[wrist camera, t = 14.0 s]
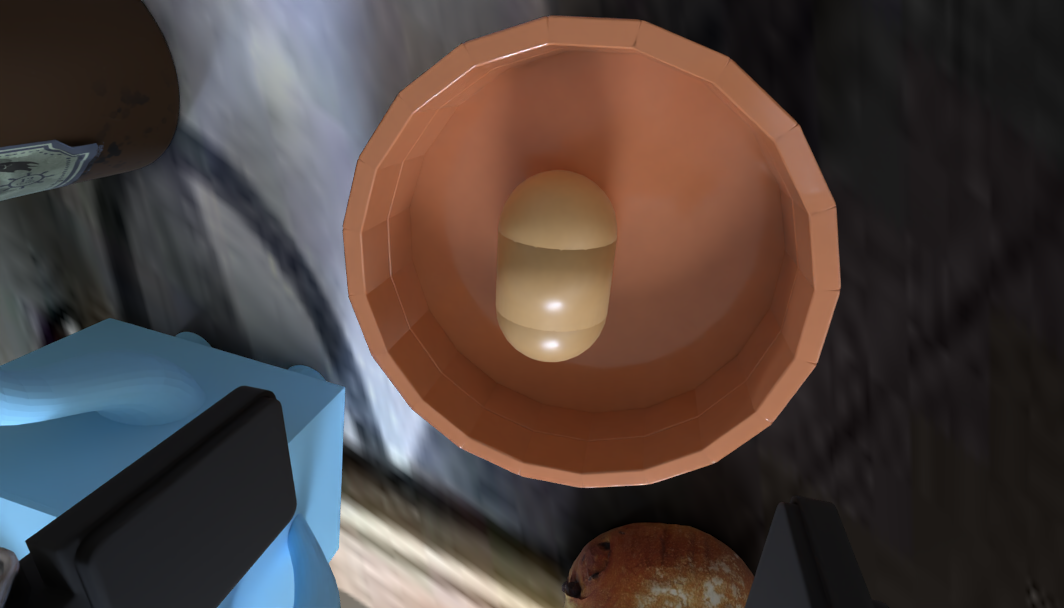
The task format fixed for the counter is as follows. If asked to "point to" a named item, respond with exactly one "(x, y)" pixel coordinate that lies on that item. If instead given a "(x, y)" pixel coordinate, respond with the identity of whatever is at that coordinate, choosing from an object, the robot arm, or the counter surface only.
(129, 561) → the robot arm
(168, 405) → the light blue teapot
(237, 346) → the counter surface
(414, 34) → the counter surface
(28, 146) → the olive oil
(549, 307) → the potato
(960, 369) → the counter surface
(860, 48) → the counter surface
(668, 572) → the bread roll
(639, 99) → the terracotta dish
